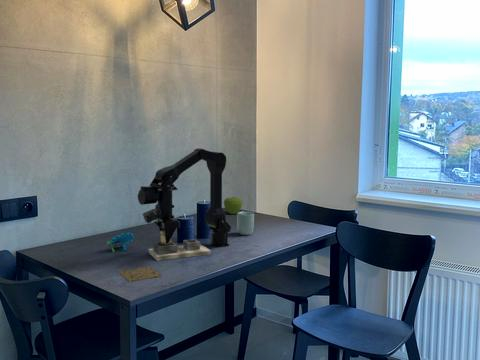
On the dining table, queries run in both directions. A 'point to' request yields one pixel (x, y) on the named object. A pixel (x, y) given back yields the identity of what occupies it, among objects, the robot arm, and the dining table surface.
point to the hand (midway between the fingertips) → (165, 241)
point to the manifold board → (178, 250)
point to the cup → (245, 222)
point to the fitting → (163, 239)
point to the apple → (233, 205)
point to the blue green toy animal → (120, 241)
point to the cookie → (140, 274)
